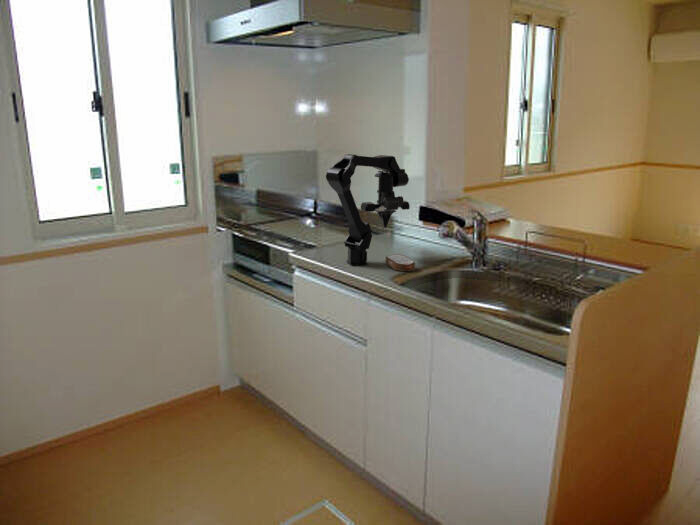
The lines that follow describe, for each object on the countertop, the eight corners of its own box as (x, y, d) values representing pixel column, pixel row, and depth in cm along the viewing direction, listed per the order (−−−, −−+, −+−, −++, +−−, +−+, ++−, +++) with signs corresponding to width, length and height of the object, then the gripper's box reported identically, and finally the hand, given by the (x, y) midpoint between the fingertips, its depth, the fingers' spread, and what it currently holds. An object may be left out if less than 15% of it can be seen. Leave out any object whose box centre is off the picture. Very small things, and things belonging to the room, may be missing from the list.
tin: (401, 259, 214) (381, 262, 211) (401, 251, 213) (381, 255, 210) (419, 269, 200) (398, 273, 198) (419, 261, 199) (398, 265, 197)
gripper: (371, 192, 202) (370, 233, 206) (416, 190, 208) (415, 230, 212) (360, 188, 212) (360, 227, 216) (404, 186, 218) (402, 224, 222)
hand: (384, 227), depth 216 cm, fingers closed
